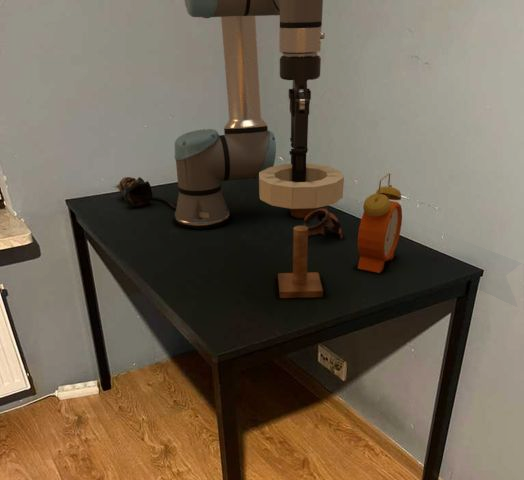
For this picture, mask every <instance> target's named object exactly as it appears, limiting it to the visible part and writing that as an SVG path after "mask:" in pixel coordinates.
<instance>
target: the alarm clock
mask: <svg viewBox="0 0 524 480" xmlns="http://www.w3.org/2000/svg"><path fill="white" fill-rule="evenodd" d="M387 177H388V181H387V182H388V183H387V186H382V185H381V184H382V181H383V180H385V178H387ZM390 183H391V173H386V175H385V176H383V177H382V178H380V180H379V183H378V189H377V190H376V192H375V193H373V194H370V195H369V196H368V197H366V199H365V200H364V202H363V206H362V208H363V209H362V210H363V213H362V216H361V218H360V223H359V226H358V233H357V252H358V256H359V260H358V265H357V269H359V270H363V271H368V272H373V273H377V274H381V272H382V271H383V270H384V267H385V263H386V262H387V261H392V260H393V259H394V257H395V255H394V252H395V250H396V248H397V244H398V242H399V239H400V235H401V231H402V229H401V228H402V225H403V224H402V223H403V210H402V205H401V203H399V202H397V201H400V200H402V193H401V191H400V190H399V189H397V188H395V187H393V185H392V184H390Z"/></svg>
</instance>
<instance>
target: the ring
mask: <svg viewBox="0 0 524 480" xmlns="http://www.w3.org/2000/svg"><path fill="white" fill-rule="evenodd" d="M344 183H345V176H344V174H343V172H342V170H341V169H337V168H335V167H332V166H329V165H324V164H317V163H316V164H315V163H306V182H292V164H291V163H285V164H280V165H274V166H273V167H269V168H267V169H265V170H263V171H261V172H259V177H258V196H259V200H260V201H262V202H264V203H266V204H268V205H271V206H272V207H278V208H285V209H289V210H290V209H292V208H293V209H303V208H313V209H320V208H324V207H328V206H331V205H335V204H336V203H338V202H339V201H340V200H341V199H343V197H344Z"/></svg>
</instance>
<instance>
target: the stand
mask: <svg viewBox="0 0 524 480" xmlns="http://www.w3.org/2000/svg"><path fill="white" fill-rule="evenodd" d="M292 237H293V238H292V239H293V241H292V272H278V273H277V284H278V294H279V296H278V297H279V299H300V298H301V299H306V298H324V288H323V285H322V282H321V277H320V273H319V272H317V271H314V272H308V255H309V253H308V252H309V251H308V249H309V236H308V227H306V226H303V225H295V226H294V227H293V236H292Z"/></svg>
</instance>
